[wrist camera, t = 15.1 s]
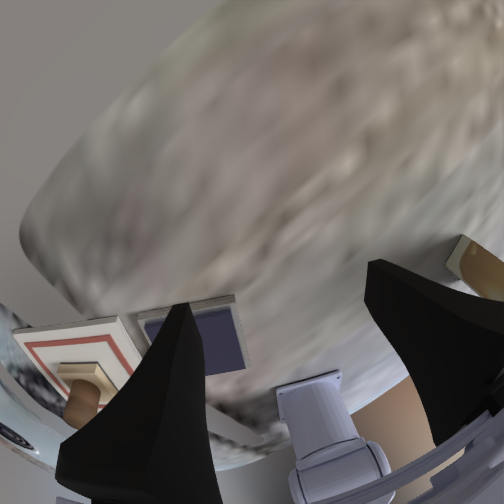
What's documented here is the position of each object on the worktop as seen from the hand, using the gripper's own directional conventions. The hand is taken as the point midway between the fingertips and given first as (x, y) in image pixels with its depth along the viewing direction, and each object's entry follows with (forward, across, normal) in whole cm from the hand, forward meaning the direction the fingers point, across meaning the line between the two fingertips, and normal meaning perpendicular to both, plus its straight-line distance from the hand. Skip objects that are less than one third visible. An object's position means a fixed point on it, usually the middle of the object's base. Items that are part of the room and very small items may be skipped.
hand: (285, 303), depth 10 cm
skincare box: (+10, -24, +9) cm, 27 cm away
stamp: (+9, +19, +13) cm, 25 cm away
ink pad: (+9, +6, +10) cm, 15 cm away
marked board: (+9, +19, +13) cm, 25 cm away
